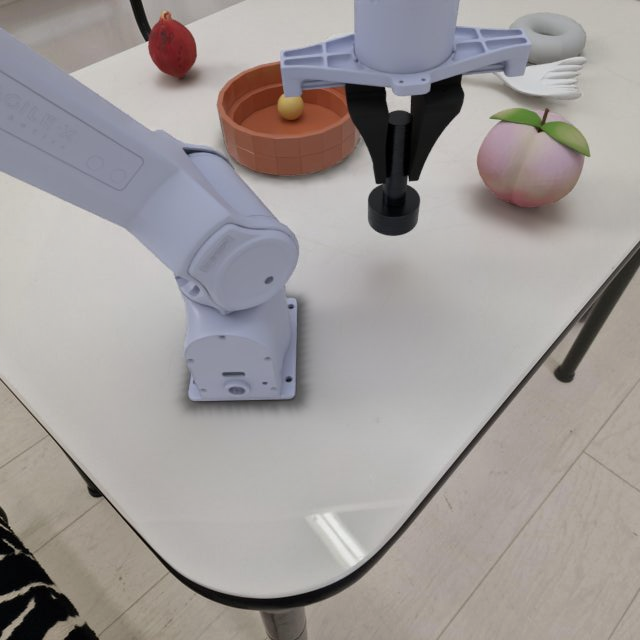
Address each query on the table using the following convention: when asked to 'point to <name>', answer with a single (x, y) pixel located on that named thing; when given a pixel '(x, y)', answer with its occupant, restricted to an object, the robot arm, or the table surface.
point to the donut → (551, 37)
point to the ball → (290, 107)
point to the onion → (172, 46)
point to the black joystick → (395, 182)
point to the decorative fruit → (531, 157)
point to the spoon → (540, 77)
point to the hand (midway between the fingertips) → (395, 173)
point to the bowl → (283, 125)
